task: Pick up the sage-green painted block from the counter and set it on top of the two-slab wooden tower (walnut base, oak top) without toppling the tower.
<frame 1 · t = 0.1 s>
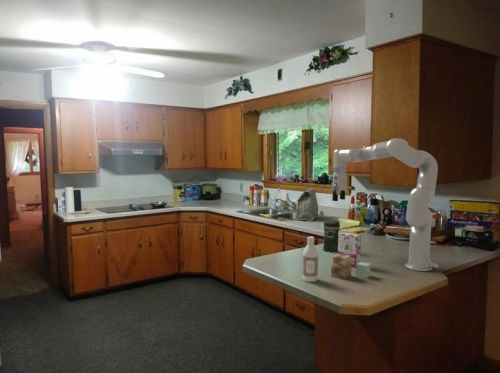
hand: (338, 200, 215), 31 cm above the countertop, fingers open, 9 cm apart
oak top: (341, 266, 175), point 5 cm above the countertop, touching walnut base
walnut base: (341, 276, 176), on the countertop, touching oak top
bag: (307, 219, 329), on the countertop
coffee jar: (331, 250, 222), on the countertop
candy bar box: (348, 264, 194), on the countertop
bath foam: (309, 280, 170), on the countertop
sage block: (363, 276, 176), on the countertop
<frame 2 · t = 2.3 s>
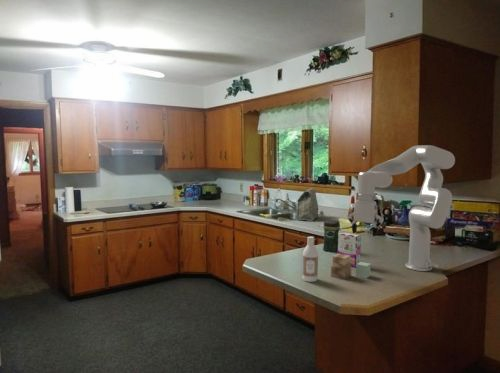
hand: (364, 234, 174), 20 cm above the countertop, fingers open, 9 cm apart
oak top: (341, 266, 175), point 5 cm above the countertop
walnut base: (341, 276, 176), on the countertop
everything else where it was.
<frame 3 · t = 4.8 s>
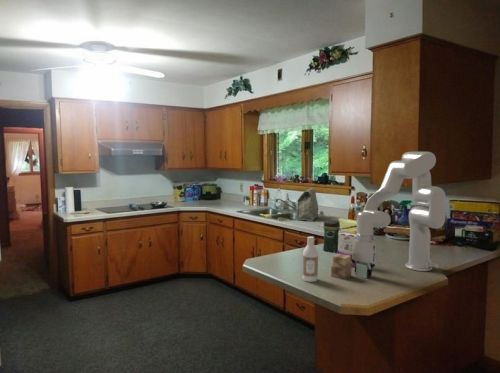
hand: (363, 275, 176), 0 cm above the countertop, fingers closed on sage block, 5 cm apart
oak top: (341, 266, 175), point 5 cm above the countertop, touching walnut base
walnut base: (341, 276, 176), on the countertop, touching oak top
sage block: (363, 276, 176), on the countertop, touching gripper
everything else where it was.
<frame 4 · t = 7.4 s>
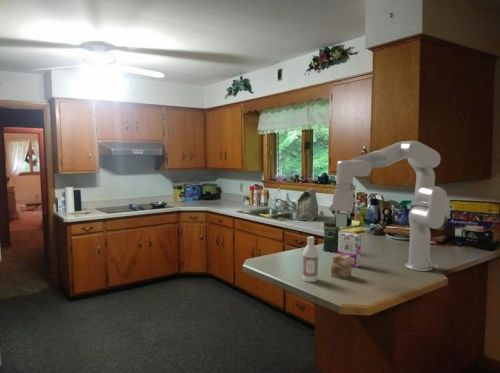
hand: (343, 225, 173), 25 cm above the countertop, fingers closed on sage block, 5 cm apart
sage block: (343, 226, 173), point 24 cm above the countertop, touching gripper
everything else where it was.
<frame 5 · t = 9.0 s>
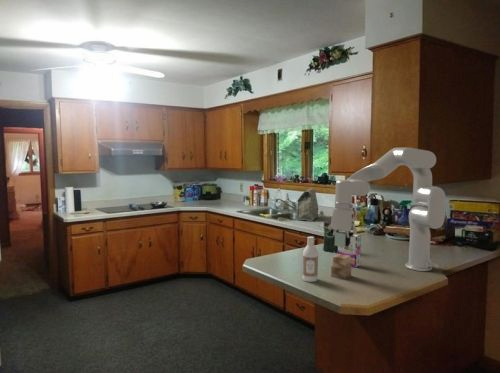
hand: (341, 244, 174), 15 cm above the countertop, fingers closed on sage block, 5 cm apart
sage block: (341, 245, 174), point 15 cm above the countertop, touching gripper
everything else where it was.
when the fingers open (12 cm above the countertop, at t = 10.1 s): sage block drops 1 cm, resting on oak top.
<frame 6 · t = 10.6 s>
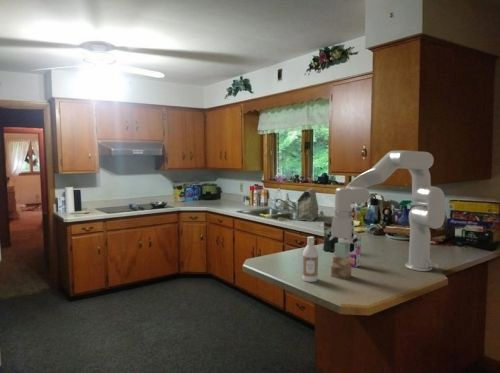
hand: (341, 249, 174), 13 cm above the countertop, fingers open, 9 cm apart
oak top: (341, 266, 175), point 5 cm above the countertop, touching sage block, walnut base
sage block: (341, 255, 175), point 10 cm above the countertop, touching oak top
everything else where it was.
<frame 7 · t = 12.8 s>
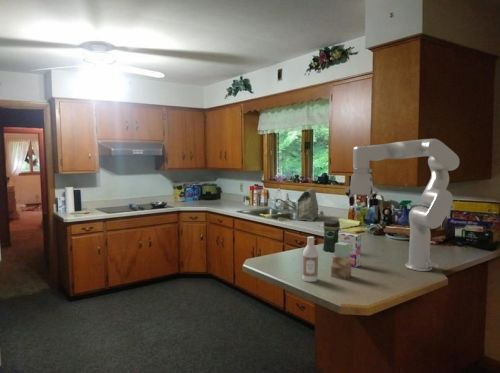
hand: (361, 206, 181), 32 cm above the countertop, fingers open, 9 cm apart
nothing on the countertop moved.
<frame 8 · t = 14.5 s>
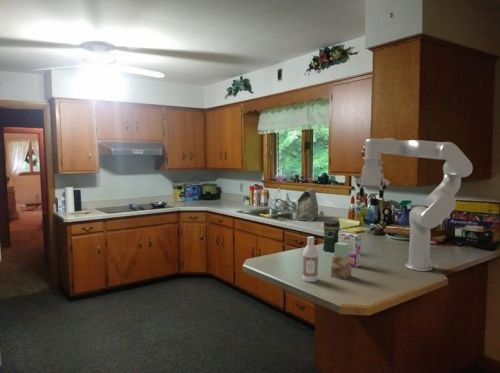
hand: (371, 197, 186), 36 cm above the countertop, fingers open, 9 cm apart
nothing on the countertop moved.
at the end: sage block 0.0 cm off-centre on the walnut base, point 10.0 cm above the walnut base's base; oak top 0.6 cm off-centre on the walnut base, point 5.0 cm above the walnut base's base; sage block tilted 0° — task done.
